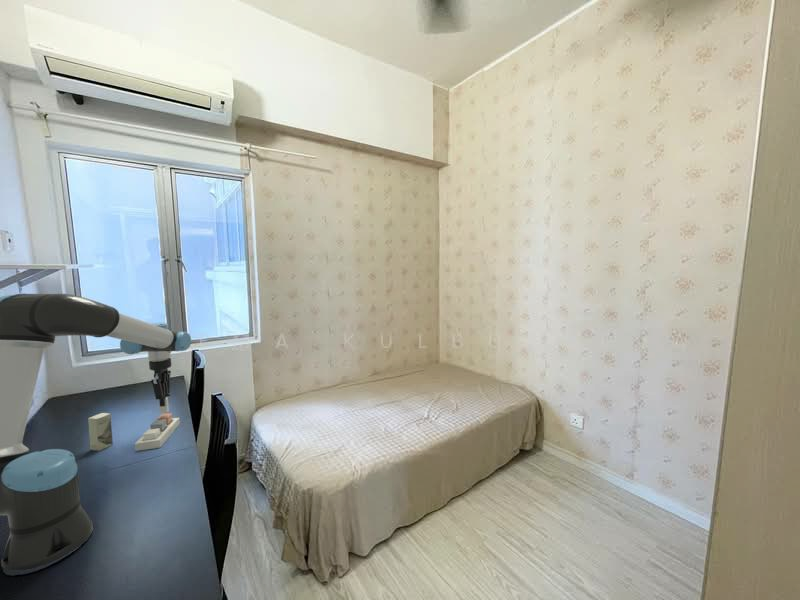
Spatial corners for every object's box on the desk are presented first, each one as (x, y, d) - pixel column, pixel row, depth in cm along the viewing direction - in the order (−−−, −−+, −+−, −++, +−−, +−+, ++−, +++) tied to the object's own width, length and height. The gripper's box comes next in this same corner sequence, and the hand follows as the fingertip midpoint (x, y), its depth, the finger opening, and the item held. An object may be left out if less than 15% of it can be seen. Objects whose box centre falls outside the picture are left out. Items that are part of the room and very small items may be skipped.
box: (99, 451, 121) (95, 419, 120) (90, 450, 122) (86, 418, 121) (114, 444, 126) (111, 413, 125) (105, 443, 127) (102, 412, 126)
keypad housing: (160, 447, 123) (159, 440, 123) (135, 450, 121) (134, 443, 121) (179, 423, 143) (179, 417, 142) (159, 426, 140) (158, 419, 140)
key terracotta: (168, 424, 136) (168, 417, 136) (157, 425, 135) (157, 418, 135) (172, 420, 140) (171, 413, 140) (161, 421, 139) (161, 414, 138)
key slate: (162, 431, 130) (161, 423, 130) (151, 432, 129) (150, 425, 129) (166, 426, 134) (166, 419, 134) (155, 427, 133) (154, 420, 133)
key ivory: (155, 440, 125) (155, 432, 124) (143, 442, 124) (143, 434, 123) (160, 435, 128) (159, 428, 128) (148, 437, 127) (148, 429, 127)
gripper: (163, 362, 130) (168, 417, 132) (176, 354, 142) (180, 405, 144) (141, 364, 127) (146, 420, 130) (156, 355, 140) (161, 407, 142)
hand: (164, 412), depth 137 cm, fingers closed
